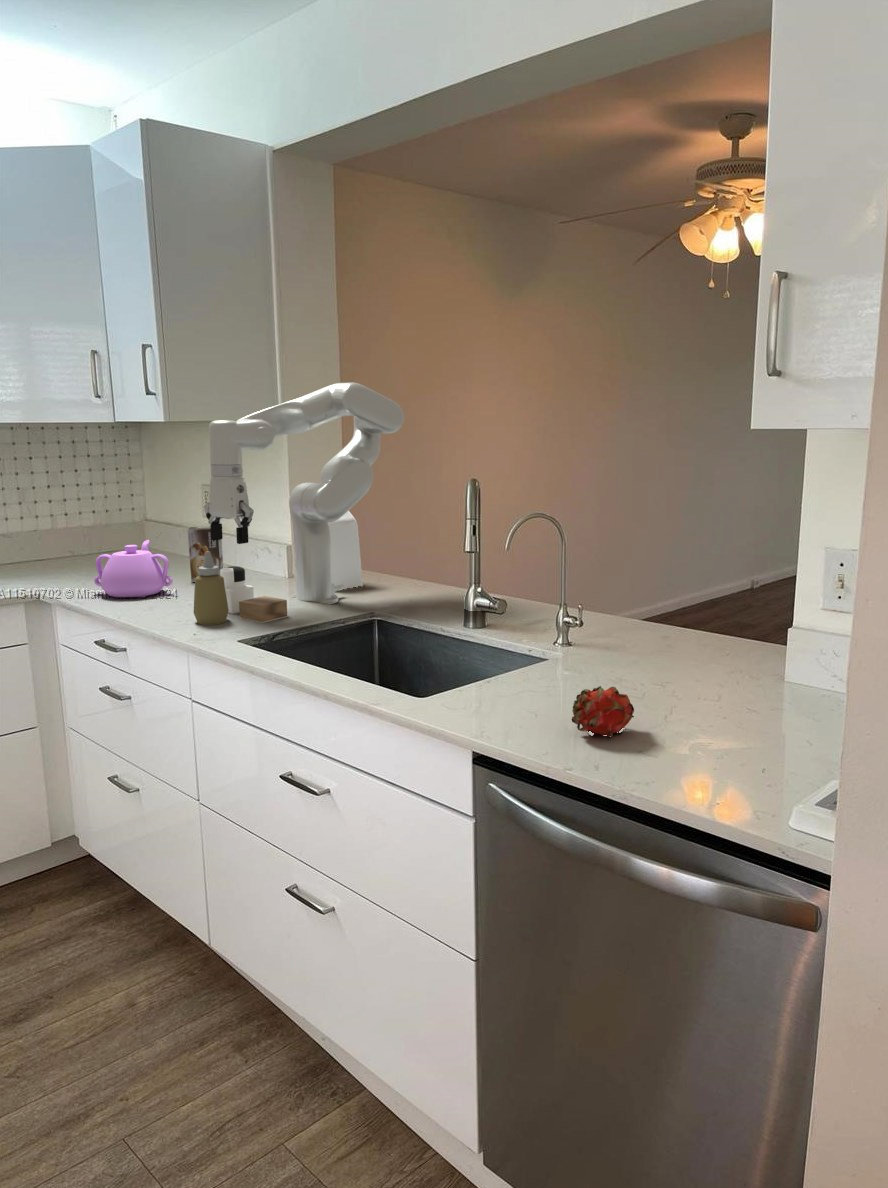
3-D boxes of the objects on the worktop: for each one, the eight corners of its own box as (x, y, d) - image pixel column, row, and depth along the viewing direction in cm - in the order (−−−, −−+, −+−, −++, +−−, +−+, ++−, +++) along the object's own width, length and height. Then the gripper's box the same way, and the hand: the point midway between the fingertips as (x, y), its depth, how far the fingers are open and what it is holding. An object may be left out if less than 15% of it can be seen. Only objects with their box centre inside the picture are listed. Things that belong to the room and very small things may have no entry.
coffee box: (225, 578, 277) (222, 525, 274) (221, 582, 271) (218, 528, 267) (194, 579, 276) (191, 526, 273) (190, 583, 270) (186, 529, 267)
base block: (265, 611, 226) (264, 595, 225) (287, 616, 221) (286, 599, 220) (239, 617, 219) (238, 601, 218) (262, 622, 215) (261, 605, 214)
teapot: (187, 585, 267) (184, 538, 264) (163, 600, 246) (160, 549, 243) (113, 585, 267) (109, 538, 265) (83, 600, 246) (78, 550, 243)
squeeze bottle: (194, 631, 211) (189, 555, 208) (194, 624, 219) (189, 550, 215) (230, 629, 213) (226, 553, 210) (228, 621, 221) (224, 548, 217)
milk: (328, 592, 256) (325, 499, 250) (305, 586, 264) (302, 496, 259) (362, 586, 264) (360, 496, 258) (339, 580, 272) (336, 493, 267)
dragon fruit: (565, 748, 143) (624, 745, 148) (596, 731, 136) (657, 729, 142) (552, 697, 146) (611, 696, 152) (583, 677, 139) (643, 677, 145)
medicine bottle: (237, 609, 234) (234, 563, 231) (255, 613, 229) (252, 566, 227) (214, 614, 228) (211, 567, 226) (232, 618, 224) (229, 570, 222)
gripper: (262, 472, 219) (264, 543, 223) (216, 469, 230) (219, 537, 233) (238, 474, 214) (241, 546, 217) (191, 471, 224) (195, 540, 227)
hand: (229, 541), depth 225 cm, fingers open, 9 cm apart
